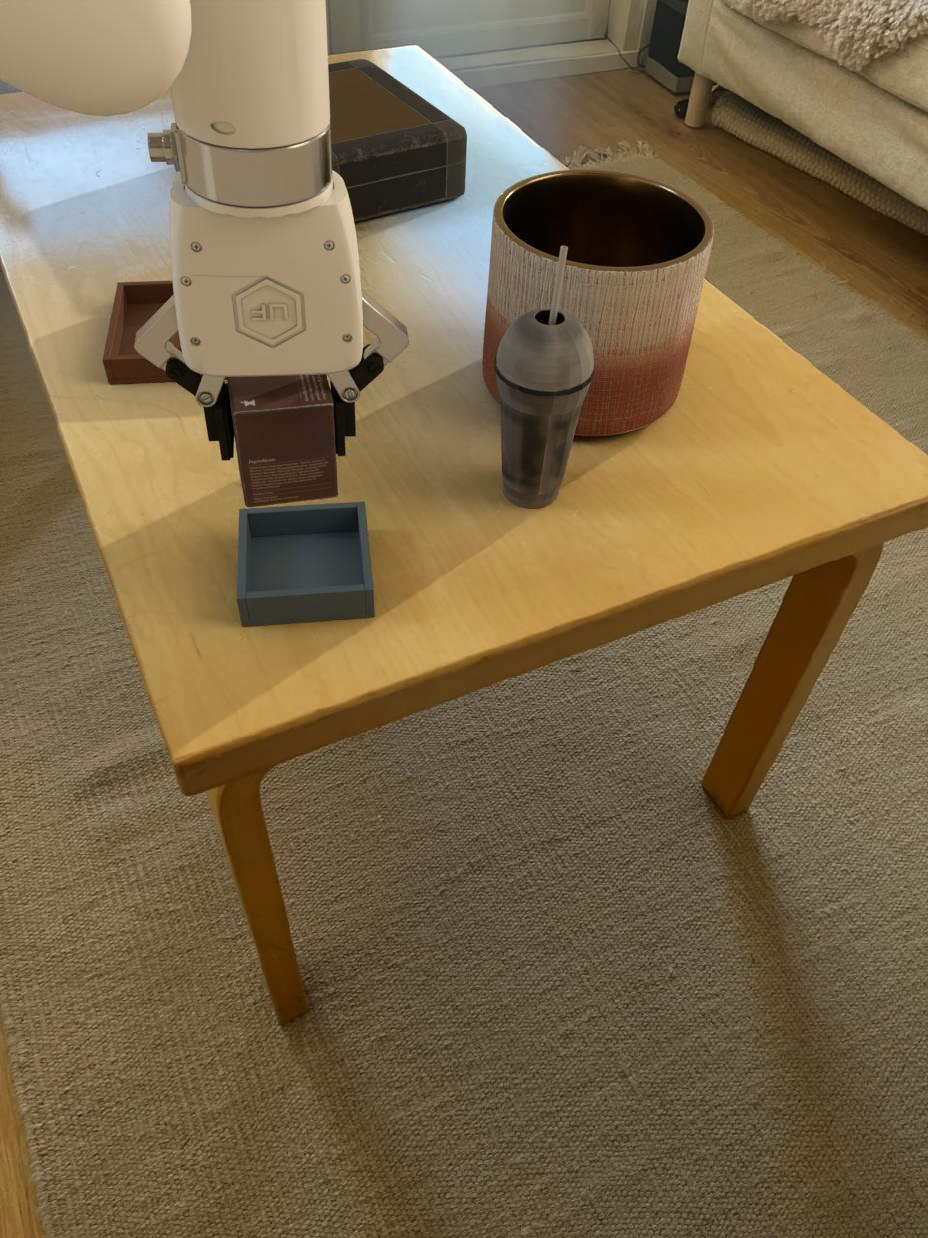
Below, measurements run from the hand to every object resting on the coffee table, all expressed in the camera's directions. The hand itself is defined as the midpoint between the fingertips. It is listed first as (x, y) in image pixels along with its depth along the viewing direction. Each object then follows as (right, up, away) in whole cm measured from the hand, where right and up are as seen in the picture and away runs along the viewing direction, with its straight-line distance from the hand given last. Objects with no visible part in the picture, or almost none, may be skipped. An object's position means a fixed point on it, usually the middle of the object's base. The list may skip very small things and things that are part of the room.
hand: (284, 442), depth 63 cm
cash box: (-3, +42, +55) cm, 69 cm away
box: (0, -2, +2) cm, 3 cm away
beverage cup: (+17, -1, +17) cm, 24 cm away
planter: (+22, +10, +27) cm, 36 cm away
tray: (-13, +15, +29) cm, 35 cm away
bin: (0, -8, +9) cm, 12 cm away
